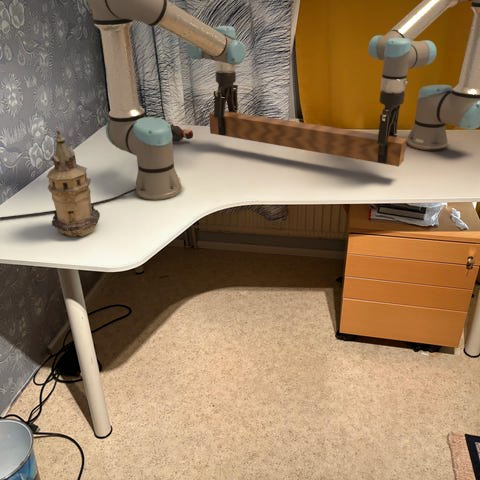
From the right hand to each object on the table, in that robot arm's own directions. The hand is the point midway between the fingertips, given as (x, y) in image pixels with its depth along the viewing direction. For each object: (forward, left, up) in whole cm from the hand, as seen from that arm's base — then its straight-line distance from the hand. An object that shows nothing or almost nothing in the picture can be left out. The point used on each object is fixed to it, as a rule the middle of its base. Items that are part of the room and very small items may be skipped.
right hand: (384, 159), depth 181 cm
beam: (+4, -31, -1) cm, 31 cm away
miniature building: (+85, -57, -7) cm, 102 cm away
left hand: (+7, -62, 0) cm, 63 cm away
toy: (+15, -92, -7) cm, 94 cm away
